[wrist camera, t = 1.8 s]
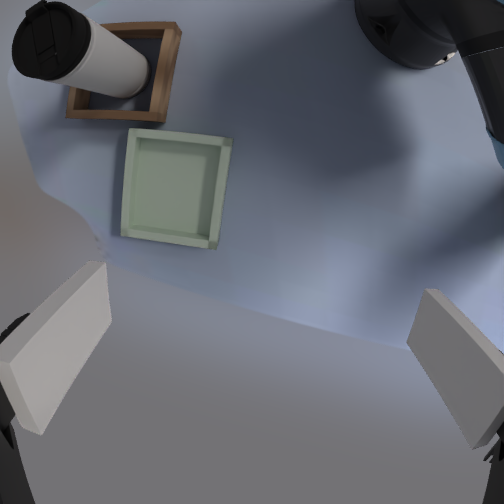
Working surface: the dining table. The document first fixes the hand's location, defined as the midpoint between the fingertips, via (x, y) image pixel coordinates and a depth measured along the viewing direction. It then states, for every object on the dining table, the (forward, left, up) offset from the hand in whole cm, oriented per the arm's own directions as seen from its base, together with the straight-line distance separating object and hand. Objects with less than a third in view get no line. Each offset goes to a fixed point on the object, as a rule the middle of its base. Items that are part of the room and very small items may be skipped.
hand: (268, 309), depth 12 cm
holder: (-13, -18, -28) cm, 36 cm away
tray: (+1, -10, -28) cm, 30 cm away
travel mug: (-13, -18, -29) cm, 36 cm away
